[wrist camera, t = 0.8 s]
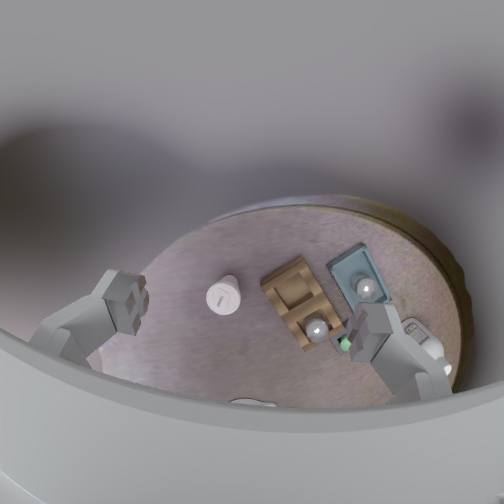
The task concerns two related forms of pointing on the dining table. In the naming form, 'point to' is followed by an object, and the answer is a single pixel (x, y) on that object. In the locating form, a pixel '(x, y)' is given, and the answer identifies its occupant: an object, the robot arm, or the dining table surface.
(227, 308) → the smoothie
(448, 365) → the bath foam
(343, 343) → the button
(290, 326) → the brown wooden tray
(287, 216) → the dining table surface
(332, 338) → the button housing
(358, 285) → the billet
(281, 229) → the dining table surface
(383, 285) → the tray
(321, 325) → the billet seated
